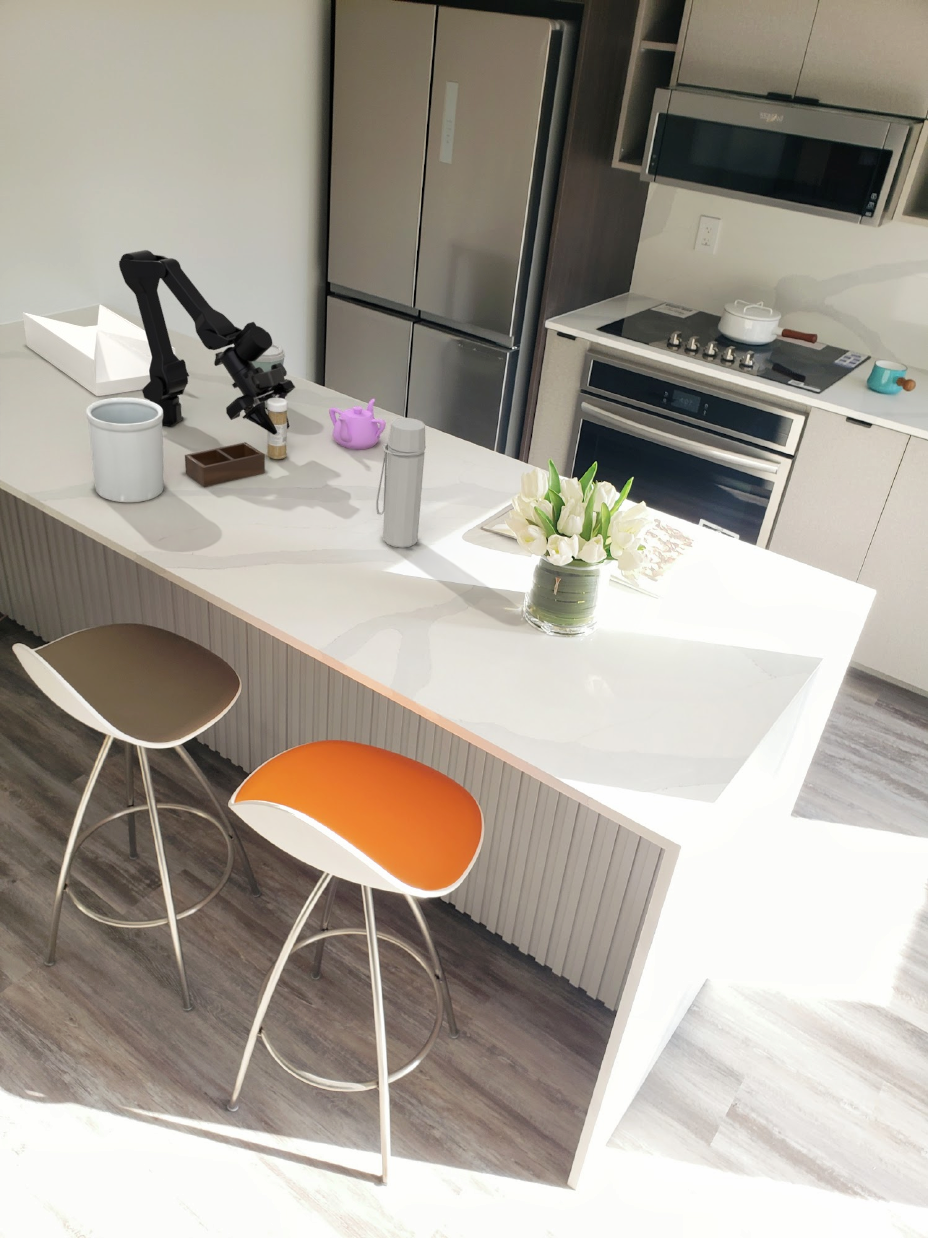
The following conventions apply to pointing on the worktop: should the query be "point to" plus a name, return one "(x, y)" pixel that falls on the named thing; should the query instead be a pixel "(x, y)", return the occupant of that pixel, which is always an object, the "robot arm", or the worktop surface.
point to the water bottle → (403, 482)
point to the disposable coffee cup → (270, 359)
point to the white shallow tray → (94, 351)
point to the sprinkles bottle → (277, 428)
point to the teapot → (357, 427)
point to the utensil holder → (126, 448)
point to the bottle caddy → (224, 464)
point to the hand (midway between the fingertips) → (281, 430)
